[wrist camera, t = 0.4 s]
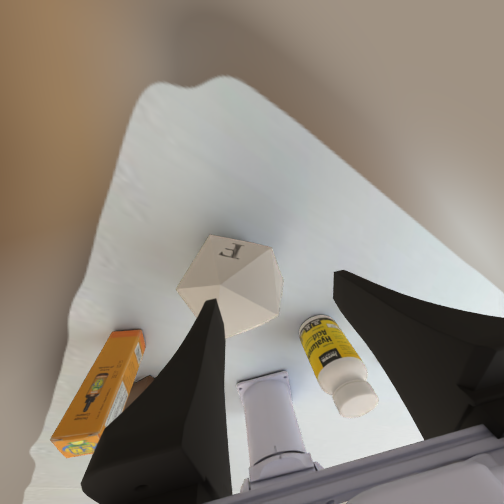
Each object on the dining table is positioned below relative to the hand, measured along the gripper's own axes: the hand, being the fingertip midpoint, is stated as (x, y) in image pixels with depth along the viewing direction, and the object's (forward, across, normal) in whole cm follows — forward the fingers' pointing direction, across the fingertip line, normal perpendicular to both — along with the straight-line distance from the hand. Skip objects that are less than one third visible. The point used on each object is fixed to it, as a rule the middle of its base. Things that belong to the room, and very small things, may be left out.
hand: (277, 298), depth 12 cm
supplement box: (+10, +17, +10) cm, 22 cm away
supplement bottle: (+10, -6, +15) cm, 19 cm away
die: (+10, +3, +2) cm, 11 cm away
